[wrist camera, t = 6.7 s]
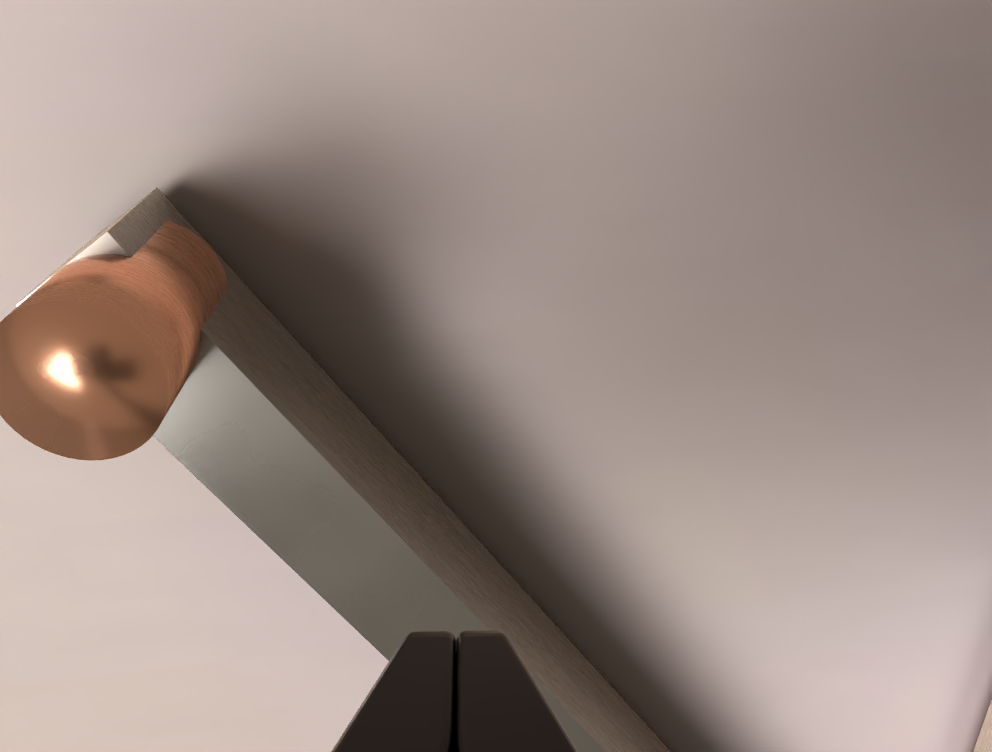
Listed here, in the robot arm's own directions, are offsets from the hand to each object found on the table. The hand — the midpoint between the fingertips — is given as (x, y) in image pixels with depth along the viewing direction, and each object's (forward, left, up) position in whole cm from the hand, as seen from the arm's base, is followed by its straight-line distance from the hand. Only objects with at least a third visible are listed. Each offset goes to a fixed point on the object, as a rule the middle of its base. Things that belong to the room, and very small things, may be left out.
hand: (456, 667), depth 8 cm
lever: (-7, -1, -7) cm, 10 cm away
